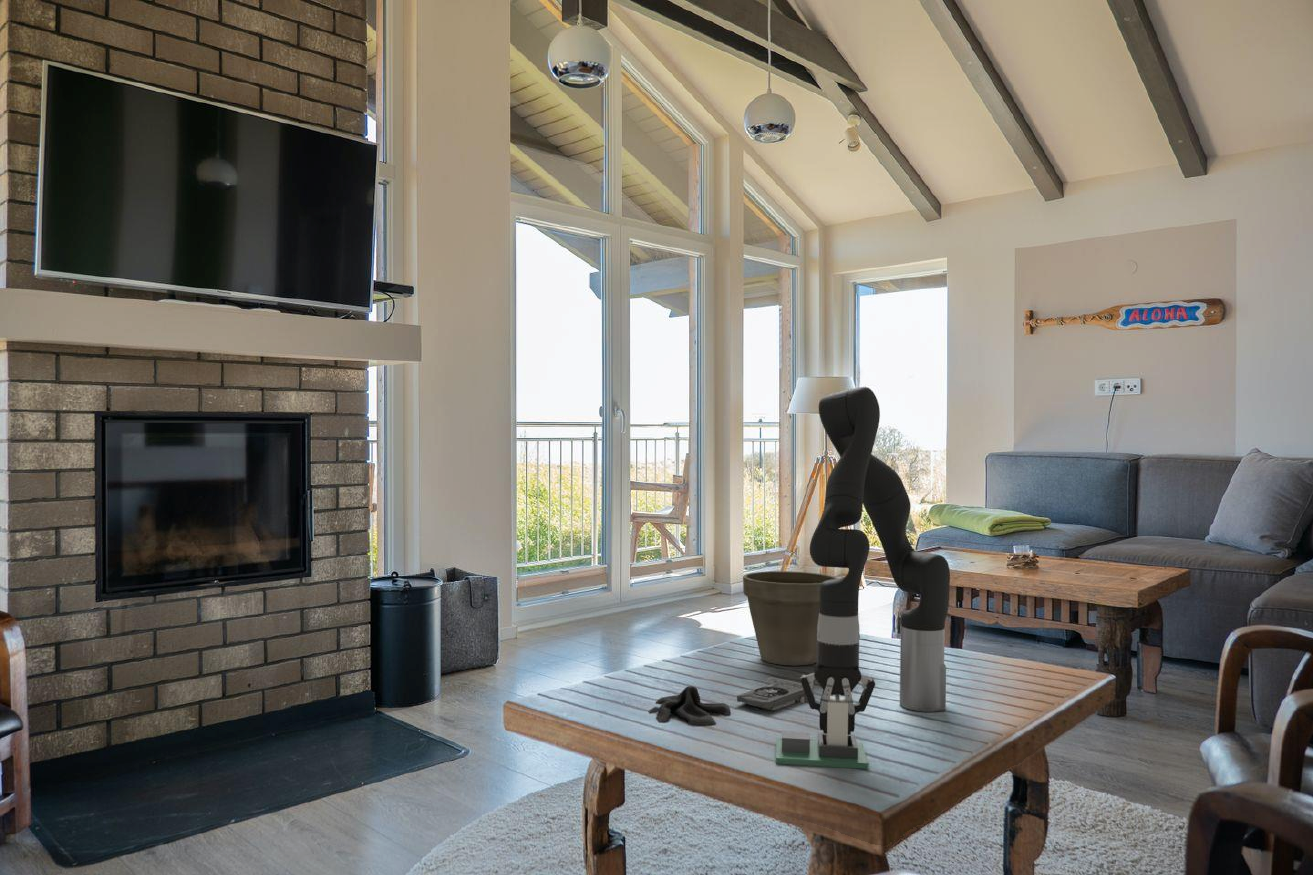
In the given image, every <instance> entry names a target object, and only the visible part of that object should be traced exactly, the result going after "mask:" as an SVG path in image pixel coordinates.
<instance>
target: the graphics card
mask: <svg viewBox="0 0 1313 875" xmlns="http://www.w3.org/2000/svg"><path fill="white" fill-rule="evenodd" d="M766 682H767V683H768V684H767V685H764V686H762V687H757V688H755V689H753V690H750V691H747V692H744V693H741V694H738V695H736V702H737V703H744V704H746V705H750V706H753V707H754V706H755V707H756V708H757V707H758V710H760V711H764V710H765V709H766V710H770V711H776V710H779V709H781V708H785V707H786V706H787V707H788V706H790V705H792V706H791V708H794V707H796V706H798V705H802V704H804V703H808V700H807V697H806V695H805V692H804V689H803V686H802V684H801V682H798V681H797V682H796V681H791V680H788V679H782V678H777V677H772V676H770V677H769V678H768V677H767V678H766ZM781 683H782V684H781ZM788 684H789V685H788ZM793 685H794V686H793ZM813 688H814V685H813V686H812V687H811V689H812V692H813V693H814V690H813ZM793 705H794V706H793Z"/></svg>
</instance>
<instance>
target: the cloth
mask: <svg viewBox="0 0 1313 875" xmlns="http://www.w3.org/2000/svg"><path fill="white" fill-rule="evenodd" d="M654 704H656V705H659V707H658V706H654V707H652V708H651V709H650V710H648V714H649V715H650V714H655V713H657V714H656V717H655V720H656V721H657V722H658V724H660V723H661V724H666V723H668V722H669V721H670V718H671V715H673V716H677V717H681V718H682V719H685V720H687V723H688V726H716V725H717V722H716V720H714V718H713V717H712V715H711V714H713V715H714V714H715V715H720V716H722V715H723V717H730V716H731V714H732V713H731V708H730V706H729V705H728V704H727V703H724V702H721V703H719V702H718V703H712V702H709V703H708V702H707V703H705V702H704V703H703V702H701V696H700V693H699V691H698V688H697V687H696V686H693V685H689V686H688V685H687V686H686V687H685V688H684V689H682V691H681V692H680V693H679V694H676V695H669V696H663V697H660V698H659V699H657V700H656V701H655V702H654Z"/></svg>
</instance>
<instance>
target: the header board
mask: <svg viewBox="0 0 1313 875" xmlns="http://www.w3.org/2000/svg"><path fill="white" fill-rule="evenodd" d="M856 738H857V737H856V735H855V734H851V735H848V745H847V746H836V745H827V743H826V734H824V733H823V732H817V739H815V740H813V739H811V737H810V732H808V731H807V732H804V731H788V730H787V731H783V730H782V731H781V738H776V742H775V743H776V744H775V747H776V750H775V764H776V765H792V766H793V765H795V766H808V767H809V766H813V767H814V766H815V767H826V768H827V767H829V768H830V767H831V768H846V769H863V770H864V769H866V770H868V769H869V762H868V758H867V755H866V754H867V753H866V750H865V747H864V742H857V739H856Z"/></svg>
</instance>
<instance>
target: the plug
mask: <svg viewBox="0 0 1313 875" xmlns="http://www.w3.org/2000/svg"><path fill="white" fill-rule="evenodd" d="M826 743H827V745H836V746H847V745H848V702H846V699H845V696H840V695H838V694H836V695H831V696H830V700H829V701H828V704H827V734H826Z"/></svg>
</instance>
